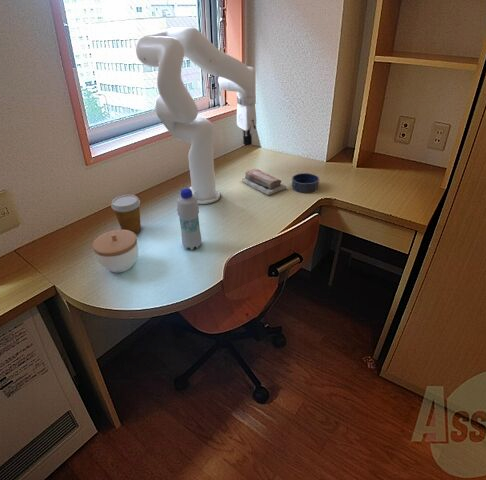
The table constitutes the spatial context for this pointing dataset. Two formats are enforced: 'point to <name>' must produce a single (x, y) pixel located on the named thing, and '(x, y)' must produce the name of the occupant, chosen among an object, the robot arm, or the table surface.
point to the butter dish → (263, 181)
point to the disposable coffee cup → (127, 212)
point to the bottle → (189, 219)
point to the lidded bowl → (116, 250)
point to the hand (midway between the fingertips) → (247, 144)
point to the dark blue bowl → (305, 182)
